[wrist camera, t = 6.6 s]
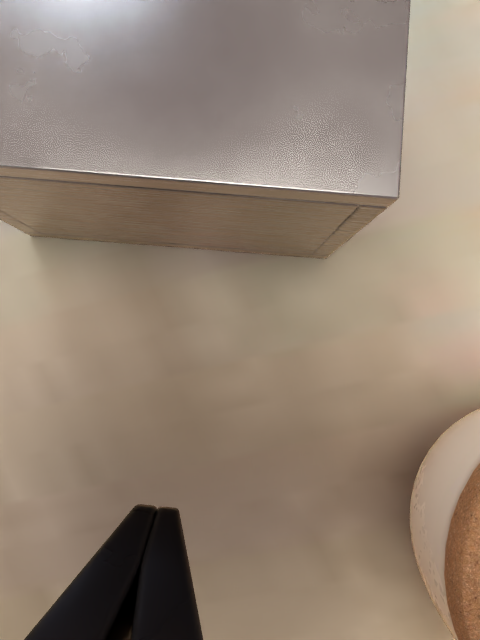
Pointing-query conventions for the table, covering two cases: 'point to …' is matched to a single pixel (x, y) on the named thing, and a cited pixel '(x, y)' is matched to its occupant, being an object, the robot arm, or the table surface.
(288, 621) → the table surface
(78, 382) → the table surface
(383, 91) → the lid
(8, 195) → the tin
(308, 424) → the table surface
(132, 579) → the robot arm
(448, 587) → the trinket box
